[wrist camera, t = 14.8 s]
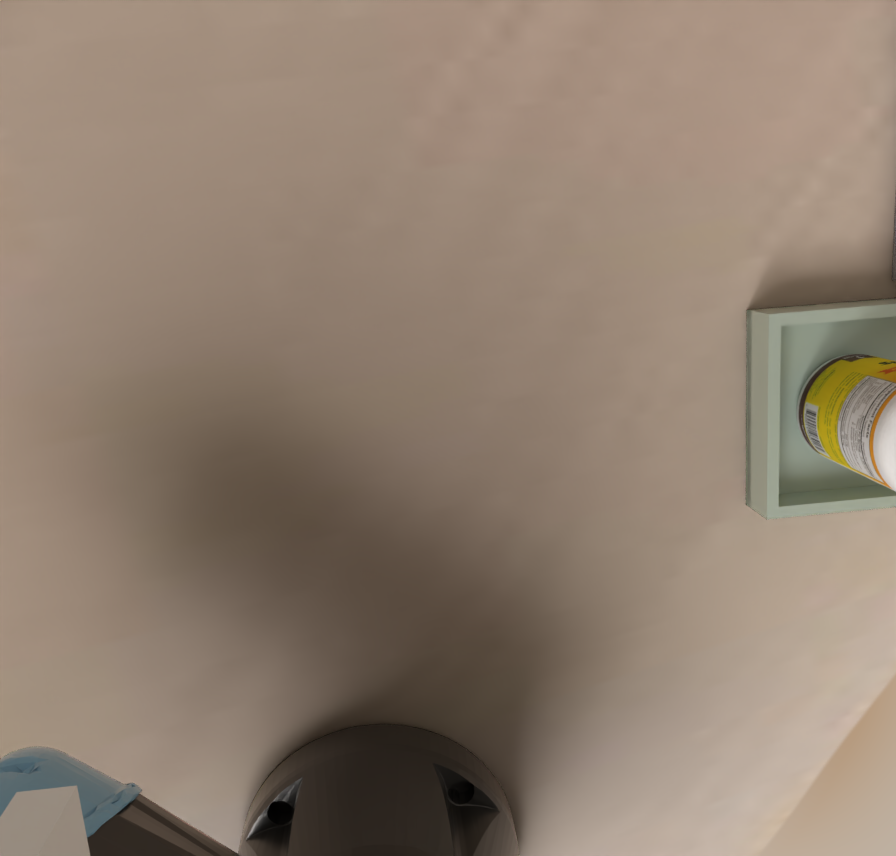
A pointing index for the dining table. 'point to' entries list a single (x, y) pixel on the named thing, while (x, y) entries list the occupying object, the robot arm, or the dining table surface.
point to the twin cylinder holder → (894, 248)
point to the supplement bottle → (853, 415)
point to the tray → (776, 395)
